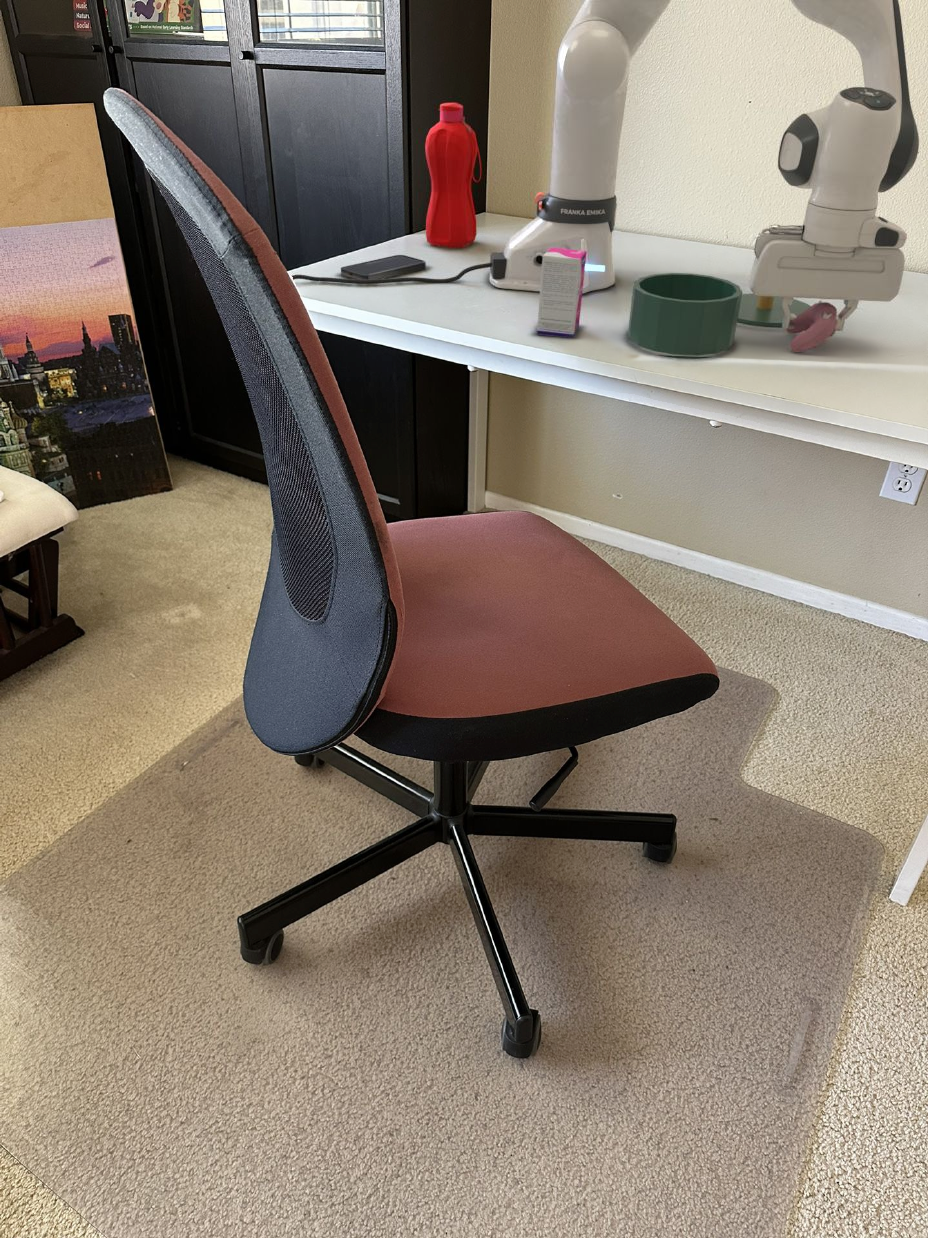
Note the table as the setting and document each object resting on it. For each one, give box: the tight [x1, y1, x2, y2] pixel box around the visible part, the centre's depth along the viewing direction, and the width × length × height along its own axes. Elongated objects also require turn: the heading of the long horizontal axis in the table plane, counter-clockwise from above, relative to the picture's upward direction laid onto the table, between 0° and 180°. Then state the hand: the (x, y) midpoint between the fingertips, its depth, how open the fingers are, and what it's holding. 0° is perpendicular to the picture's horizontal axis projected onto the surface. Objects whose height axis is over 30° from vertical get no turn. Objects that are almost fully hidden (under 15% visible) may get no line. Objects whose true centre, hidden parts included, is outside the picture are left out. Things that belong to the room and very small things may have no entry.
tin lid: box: [737, 293, 812, 328], centre depth 144 cm, size 16×16×5 cm
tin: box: [627, 272, 743, 360], centre depth 132 cm, size 15×15×8 cm
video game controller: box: [785, 299, 838, 353], centre depth 130 cm, size 10×5×7 cm, turn 168°
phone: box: [340, 254, 427, 280], centre depth 165 cm, size 8×1×15 cm
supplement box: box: [536, 248, 587, 339], centre depth 135 cm, size 6×6×12 cm
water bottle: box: [424, 102, 482, 249], centre depth 176 cm, size 9×11×25 cm
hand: (812, 328), depth 131 cm, fingers closed on video game controller, 5 cm apart
